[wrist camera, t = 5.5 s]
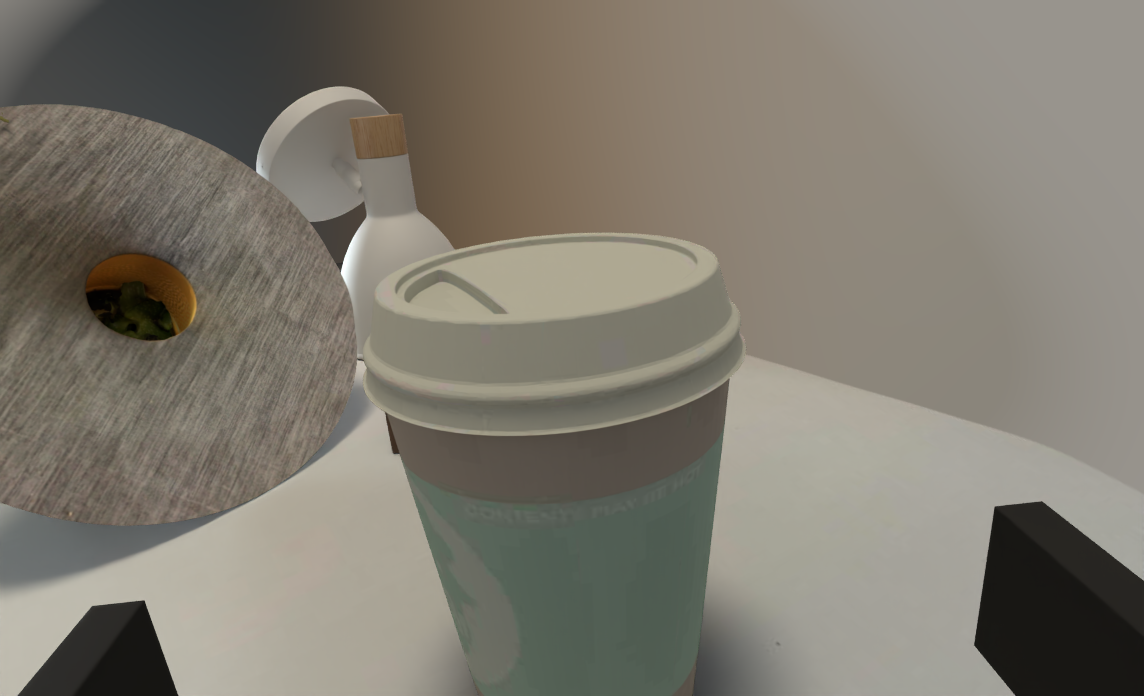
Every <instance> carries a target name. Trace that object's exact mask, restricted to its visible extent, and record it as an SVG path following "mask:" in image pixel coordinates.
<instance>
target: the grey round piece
mask: <svg viewBox="0 0 1144 696" xmlns="http://www.w3.org/2000/svg"><path fill="white" fill-rule="evenodd" d="M356 365H357V339H356V332H355V324H354V314H353V306H352V301H351V297H350V294H349V291H348V288H347V286H346V283H345V281H344V279H343V276H342V275H341V273H340V271H339V269H338V267H337V265H336V264H335V262H334V260H333V259H332V257H331V255H330V254H329V252H328V250H327V249H326V247H325V245H324V243H323V241H322V240H321V238H320V237H319V235H318V234H317V232H316V231H315V229H314V228H313V226H312V225H311V224H310V223H309V221H308V220H307V219H306V218H305V217H304V215H303V214H302V213H301V212H300V210H299V209H298V208H297V207H296V206H295V205H294V204H293V203H292V202H291V201H290V200H289V199H288V198H287V197H286V196H285V195H284V194H283V193H282V192H281V191H280V190H278V189H277V188H276V187H275V186H274V185H273V184H271V183H270V182H269V181H268V180H266V179H265V178H264V177H262V176H261V175H260V174H258V173H257V172H255V171H254V170H252V169H251V168H249V167H248V166H246V165H245V164H244V163H242V162H240V161H239V160H237V159H236V158H234V157H232V156H231V155H229V154H227V153H225V152H224V151H222V150H220V149H218V148H217V147H215V146H212V145H210V144H208V143H206V142H204V141H202V140H200V139H198V138H196V137H193V136H191V135H189V134H186V133H184V132H182V131H179V130H175V129H173V128H170V127H168V126H165V125H162V124H159V123H156V122H153V121H149V120H146V119H143V118H139V117H135V116H131V115H127V114H123V113H119V112H114V111H109V110H104V109H98V108H90V107H81V106H70V105H23V106H13V107H1V108H0V502H1V503H4V504H7V505H9V506H12V507H16V508H19V509H22V510H26V511H29V512H33V513H37V514H41V515H45V516H49V517H54V518H58V519H63V520H69V521H76V522H83V523H91V524H103V525H151V524H162V523H170V522H177V521H183V520H188V519H193V518H198V517H202V516H206V515H210V514H214V513H217V512H220V511H224V510H227V509H229V508H232V507H235V506H237V505H239V504H242V503H244V502H247V501H249V500H251V499H253V498H255V497H257V496H259V495H261V494H263V493H265V492H266V491H268V490H270V489H271V488H273V487H275V486H276V485H278V484H279V483H281V482H282V481H284V480H285V479H287V478H288V477H289V476H291V475H292V474H293V473H295V472H296V471H297V470H298V469H299V468H301V467H302V466H303V465H304V464H305V463H306V462H307V461H308V460H309V459H310V458H311V457H312V456H313V455H314V454H315V453H316V452H317V451H318V450H319V448H320V447H321V446H322V445H323V444H324V442H325V441H326V440H327V438H328V437H329V435H330V434H331V432H332V431H333V429H334V428H335V426H336V424H337V422H338V421H339V419H340V417H341V414H342V412H343V410H344V408H345V406H346V403H347V401H348V398H349V396H350V393H351V390H352V386H353V383H354V377H355V372H356Z"/></svg>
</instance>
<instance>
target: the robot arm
mask: <svg viewBox="0 0 1144 696" xmlns="http://www.w3.org/2000/svg"><path fill="white" fill-rule="evenodd" d="M974 646H975V647H976V648H977V649H978V651H979V652H980V653H981V654H982V655H983V657H984V658H985V659H986V660H987V661H988V663H989V664H990V665H991V666H992V668H993V669H994V670H995V671H996V672H997V674H998V675H999V676H1000V677H1001V679H1002V680H1003V681H1004V682H1005V683H1006V685H1007V686H1008V687H1009V688H1010V689H1011V691H1012V692H1013V693H1014V694H1015V696H1144V581H1143V580H1142V579H1141V578H1139V577H1138V576H1137V575H1136V574H1134V573H1133V572H1132V571H1130V570H1129V569H1128V568H1127V567H1125V566H1124V565H1123V564H1121V563H1120V562H1119V561H1118V560H1116V559H1115V558H1114V557H1112V556H1111V555H1110V554H1109V553H1107V552H1106V551H1105V550H1104V549H1102V548H1101V547H1100V546H1098V545H1097V544H1096V543H1095V542H1093V541H1092V540H1091V539H1089V538H1088V537H1087V536H1086V535H1084V534H1083V533H1082V532H1081V531H1079V530H1078V529H1077V528H1075V527H1074V526H1073V525H1072V524H1070V523H1069V522H1068V521H1066V520H1065V519H1064V518H1063V517H1061V516H1060V515H1059V514H1057V513H1056V512H1055V511H1054V510H1052V509H1051V508H1050V507H1049V506H1047V505H1046V504H1045V503H1043V502H1042V501H1041V502H1032V503H1023V504H1014V505H1005V506H996V507H995V508H994V515H993V522H992V529H991V535H990V542H989V549H988V555H987V562H986V569H985V576H984V582H983V589H982V596H981V602H980V609H979V616H978V623H977V629H976V636H975V643H974ZM18 696H178V694H177V691H176V688H175V685H174V682H173V680H172V677H171V674H170V671H169V668H168V666H167V663H166V660H165V657H164V654H163V652H162V649H161V646H160V643H159V640H158V637H157V635H156V632H155V629H154V626H153V623H152V621H151V618H150V615H149V612H148V609H147V607H146V604H145V601H135V602H126V603H117V604H108V605H98V606H92V607H91V608H90V609H89V611H88V612H87V613H86V614H85V615H84V617H83V618H82V619H81V620H80V621H79V623H78V624H77V625H76V626H75V627H74V629H73V630H72V631H71V632H70V633H69V635H68V636H67V637H66V638H65V639H64V641H63V642H62V643H61V644H60V645H59V647H58V648H57V649H56V650H55V651H54V653H53V654H52V655H51V656H50V657H49V659H48V660H47V661H46V662H45V663H44V665H43V666H42V667H41V668H40V669H39V671H38V672H37V673H36V674H35V675H34V677H33V678H32V679H31V680H30V681H29V683H28V684H27V685H26V686H25V687H24V689H23V690H22V691H21V692H20V693H19V695H18Z"/></svg>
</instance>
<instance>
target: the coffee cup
mask: <svg viewBox="0 0 1144 696" xmlns="http://www.w3.org/2000/svg"><path fill="white" fill-rule="evenodd" d="M740 326H741V317H740V313H739V311H738V309H737V307H736V306H735V305H734V303H732V301H731V300H730V299H729V297H728V293H727V290H726V286H725V283H724V280H723V276H722V273H721V270H720V266H719V262H718V260H717V258H716V256H715V255H714V254H713V253H712V252H711V251H709V250H708V249H706V248H704V247H702V246H700V245H697V244H694V243H692V242H688V241H684V240H680V239H675V238H670V237H664V236H655V235H646V234H630V233H574V234H560V235H559V234H558V235H548V236H536V237H526V238H520V239H512V240H505V241H499V242H493V243H487V244H481V245H476V246H471V247H467V248H462V249H458V250H454V251H450V252H446V253H443V254H439V255H436V256H432V257H429V258H426V259H423V260H421V261H418V262H415V263H412V264H410V265H408V266H405V267H403V268H401V269H399V270H397V271H395V272H394V273H392V274H390V275H389V276H387V277H386V278H385V279H384V280H382V281H381V282H380V283H379V285H378V286H377V288H376V289H375V293H374V301H373V312H372V324H371V334H370V335H369V337H368V338H367V340H366V342H365V345H364V348H363V360H364V363H365V365H366V367H367V369H366V371H365V373H364V377H363V387H364V391H365V393H366V395H367V396H368V398H369V399H370V400H371V401H372V402H373V403H374V404H375V405H376V406H377V407H378V408H380V409H381V410H383V411H384V412H386V413H387V415H388V418H389V422H390V425H391V428H392V431H393V434H394V437H395V440H396V444H397V447H398V450H399V453H400V457H401V460H402V463H403V466H404V469H405V472H406V475H407V478H408V481H409V484H410V487H411V490H412V493H413V497H414V500H415V503H416V506H417V509H418V512H419V515H420V518H421V521H422V524H423V527H424V530H425V533H426V537H427V540H428V543H429V546H430V549H431V552H432V555H433V558H434V561H435V564H436V567H437V570H438V574H439V577H440V580H441V583H442V586H443V589H444V592H445V595H446V598H447V601H448V604H449V607H450V610H451V614H452V617H453V620H454V623H455V626H456V629H457V632H458V635H459V638H460V641H461V644H462V647H463V650H464V654H465V657H466V660H467V663H468V666H469V669H470V672H471V675H472V678H473V681H474V684H475V687H476V690H477V693H478V696H693V689H694V681H695V673H696V665H697V656H698V649H699V641H700V632H701V624H702V615H703V606H704V598H705V589H706V580H707V572H708V563H709V555H710V546H711V537H712V529H713V520H714V511H715V503H716V494H717V485H718V477H719V468H720V459H721V451H722V442H723V433H724V425H725V415H726V406H727V397H728V387H729V378H730V377H731V376H732V375H733V374H734V373H735V372H736V371H737V370H738V369H739V367H740V366H741V364H742V362H743V360H744V358H745V354H746V343H745V340H744V338H743V336H742V334H741V333H740V331H739V330H740Z"/></svg>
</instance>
